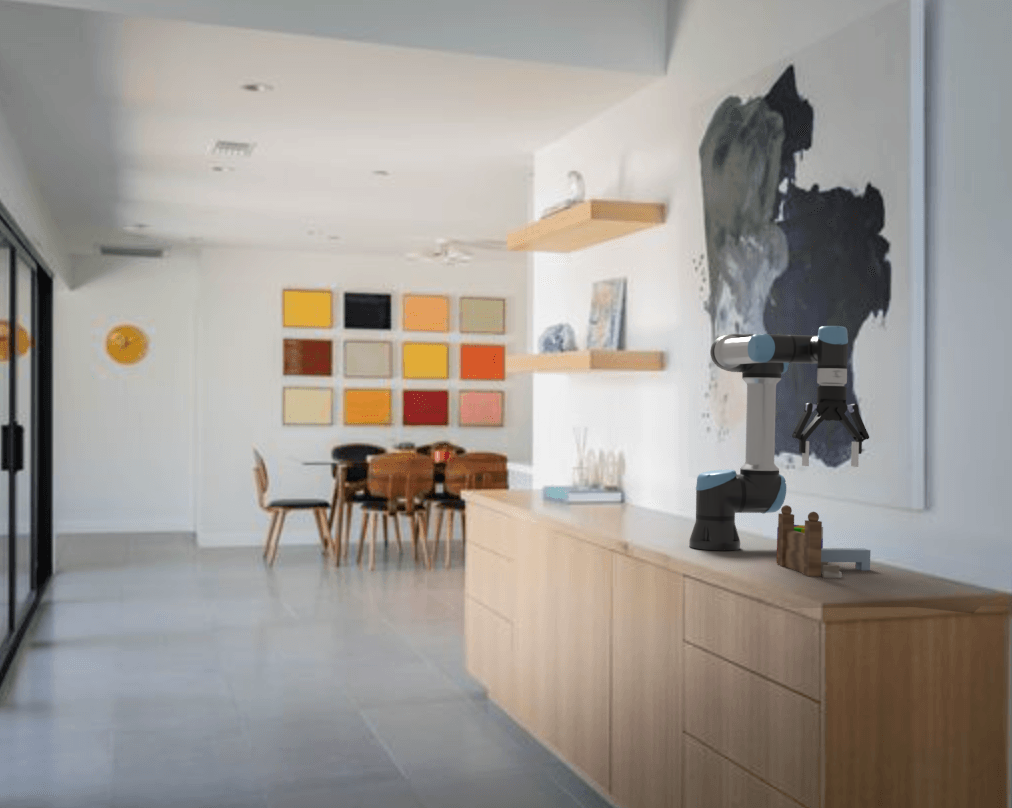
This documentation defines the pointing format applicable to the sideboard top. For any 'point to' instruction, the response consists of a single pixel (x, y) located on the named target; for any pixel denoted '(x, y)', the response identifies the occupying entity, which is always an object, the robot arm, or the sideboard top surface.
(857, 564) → the rail
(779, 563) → the headboard
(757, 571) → the sideboard top surface
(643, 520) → the sideboard top surface
